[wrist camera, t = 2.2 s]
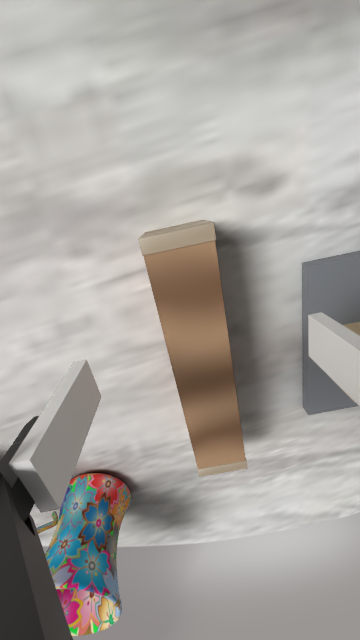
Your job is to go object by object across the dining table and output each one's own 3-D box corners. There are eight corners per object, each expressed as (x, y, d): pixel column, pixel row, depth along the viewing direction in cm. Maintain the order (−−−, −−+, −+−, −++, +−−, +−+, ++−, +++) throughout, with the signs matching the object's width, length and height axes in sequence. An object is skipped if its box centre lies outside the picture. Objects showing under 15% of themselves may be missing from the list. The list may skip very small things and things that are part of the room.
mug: (141, 469, 31) (128, 590, 21) (129, 515, 34) (113, 638, 24) (37, 457, 29) (-29, 582, 19) (36, 507, 32) (-21, 634, 23)
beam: (145, 232, 20) (138, 239, 15) (202, 219, 20) (213, 222, 15) (194, 433, 29) (199, 476, 24) (234, 425, 28) (247, 468, 24)
